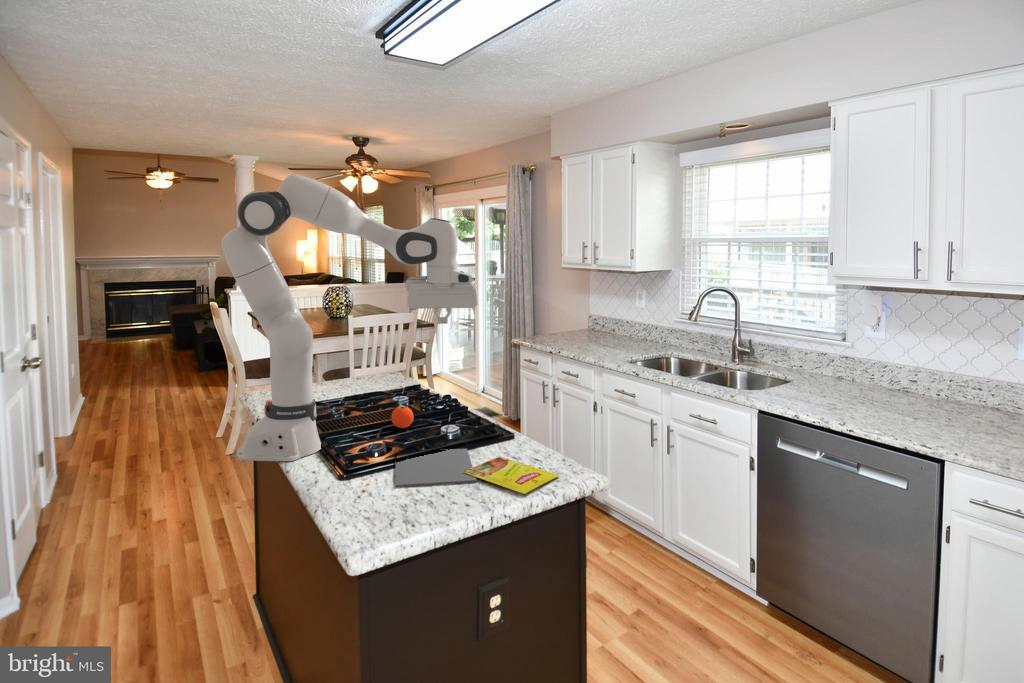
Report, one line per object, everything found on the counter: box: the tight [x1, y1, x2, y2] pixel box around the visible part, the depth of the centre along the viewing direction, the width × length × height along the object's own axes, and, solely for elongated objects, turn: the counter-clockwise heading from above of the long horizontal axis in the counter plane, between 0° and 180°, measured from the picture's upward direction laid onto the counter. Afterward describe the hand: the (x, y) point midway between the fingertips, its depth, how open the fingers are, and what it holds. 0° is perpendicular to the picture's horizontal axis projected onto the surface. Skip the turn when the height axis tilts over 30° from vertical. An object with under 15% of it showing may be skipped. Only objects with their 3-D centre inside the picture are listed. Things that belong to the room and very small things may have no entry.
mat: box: [394, 448, 477, 488], centre depth 165 cm, size 20×22×1 cm
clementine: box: [390, 405, 415, 429], centre depth 196 cm, size 8×7×7 cm
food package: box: [463, 456, 561, 494], centre depth 160 cm, size 15×1×20 cm
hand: (442, 323), depth 181 cm, fingers closed
